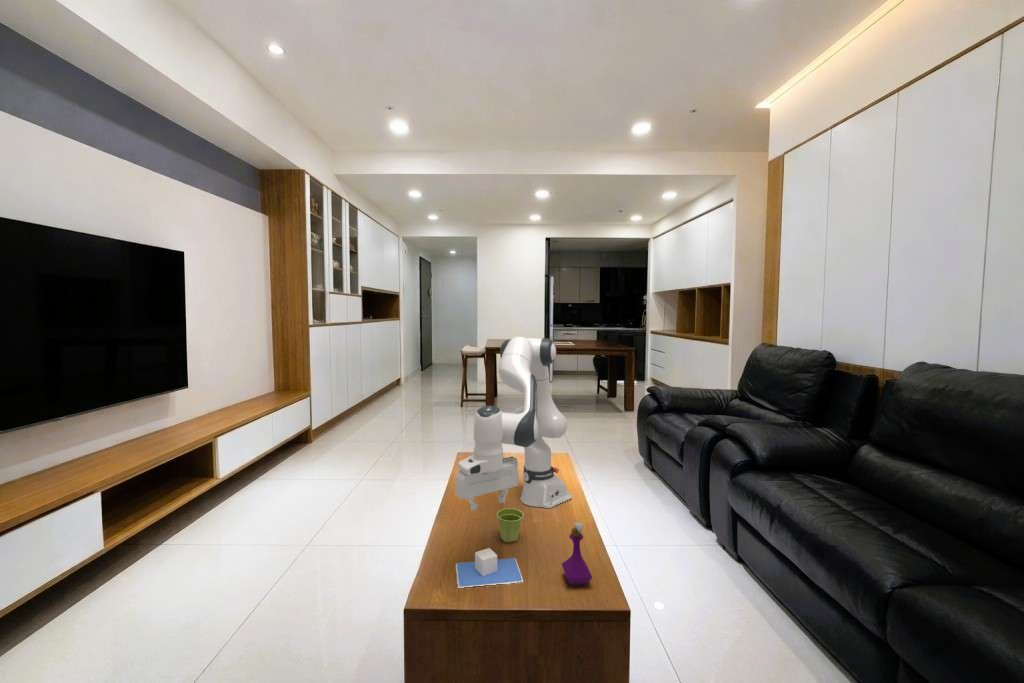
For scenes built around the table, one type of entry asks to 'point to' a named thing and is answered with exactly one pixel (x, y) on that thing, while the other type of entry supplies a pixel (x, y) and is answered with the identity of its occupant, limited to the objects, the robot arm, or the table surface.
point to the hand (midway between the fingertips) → (487, 505)
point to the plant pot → (509, 523)
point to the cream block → (486, 562)
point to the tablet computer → (504, 575)
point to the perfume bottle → (576, 560)
